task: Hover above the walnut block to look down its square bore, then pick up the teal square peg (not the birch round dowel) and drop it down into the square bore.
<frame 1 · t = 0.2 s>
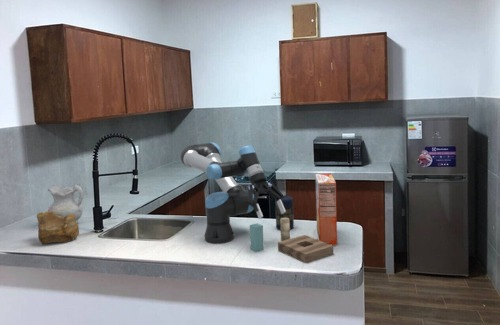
hand: (272, 215, 213), 16 cm above the worktop, tool tilted 35°, fingers open, 13 cm apart
socket block: (305, 252, 207), on the worktop
canister: (285, 228, 245), on the worktop
pasta box: (326, 237, 227), on the worktop
rough brown rock: (54, 241, 241), on the worktop
ceramic pitcher: (69, 225, 271), on the worktop
square peg: (257, 249, 214), on the worktop
round dowel: (285, 242, 221), on the worktop
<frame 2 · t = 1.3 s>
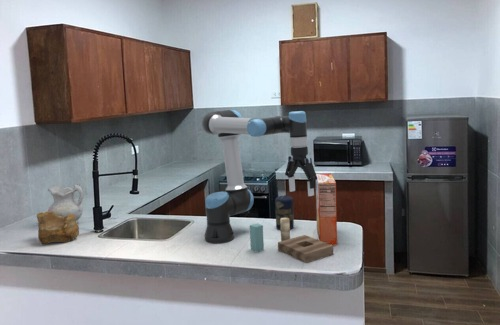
hand: (301, 193, 203), 28 cm above the worktop, tool pointing down, fingers open, 13 cm apart
nothing on the worktop moved.
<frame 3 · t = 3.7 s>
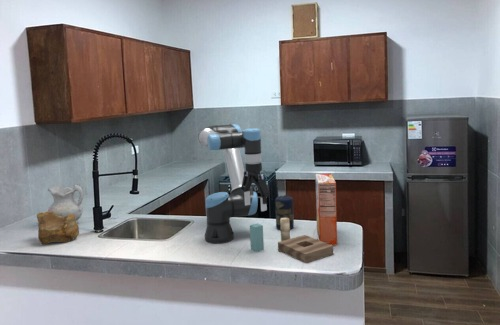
hand: (255, 207, 210), 20 cm above the worktop, tool pointing down, fingers open, 13 cm apart
nothing on the worktop moved.
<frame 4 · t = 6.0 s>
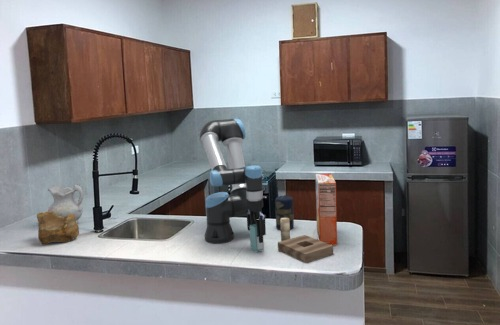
hand: (257, 247, 214), 1 cm above the worktop, tool pointing down, fingers closed on square peg, 4 cm apart
square peg: (257, 249, 214), on the worktop, touching gripper
everything else where it was.
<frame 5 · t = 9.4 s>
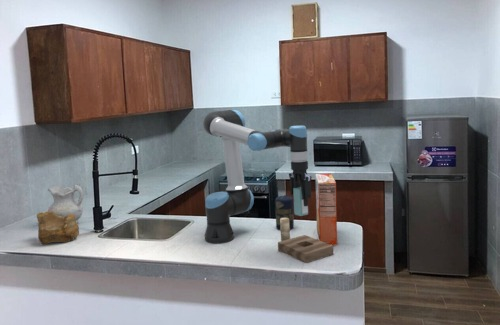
hand: (301, 211, 204), 19 cm above the worktop, tool pointing down, fingers closed on square peg, 4 cm apart
square peg: (301, 214, 204), point 18 cm above the worktop, touching gripper
everything else where it was.
when the fingers open (6 cm above the worktop, at t = 12.9 s): square peg drops 5 cm, resting in socket block.
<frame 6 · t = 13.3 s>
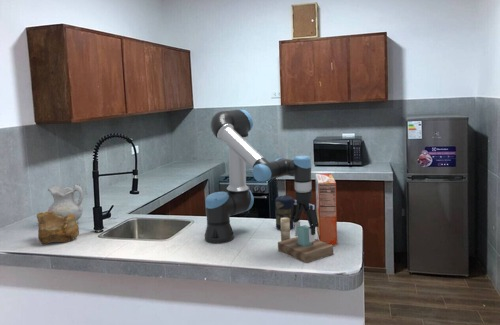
hand: (304, 238, 206), 7 cm above the worktop, tool pointing down, fingers open, 9 cm apart
square peg: (305, 252, 207), resting in socket block
everything else where it was.
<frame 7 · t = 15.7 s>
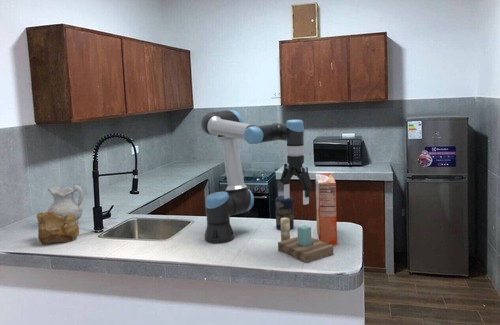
hand: (296, 201, 205), 24 cm above the worktop, tool pointing down, fingers open, 13 cm apart
nothing on the worktop moved.
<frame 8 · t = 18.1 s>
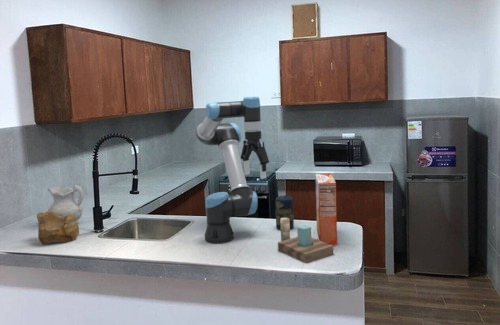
hand: (255, 176, 211), 35 cm above the worktop, tool pointing down, fingers open, 13 cm apart
nothing on the worktop moved.
at the end: square peg 0.1 cm off-centre on the socket block, point 0.0 cm above the socket block's base; square peg tilted 0°; round dowel moved 0.1 cm from its start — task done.
